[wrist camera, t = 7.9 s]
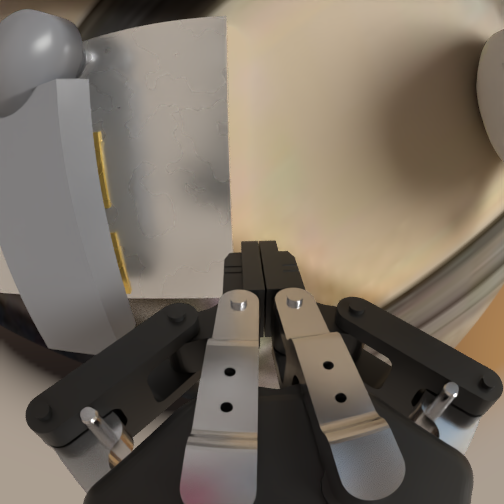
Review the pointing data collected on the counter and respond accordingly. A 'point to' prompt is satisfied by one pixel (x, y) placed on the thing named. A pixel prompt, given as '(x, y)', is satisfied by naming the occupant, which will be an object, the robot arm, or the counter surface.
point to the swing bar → (55, 189)
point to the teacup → (492, 90)
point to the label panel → (162, 154)
